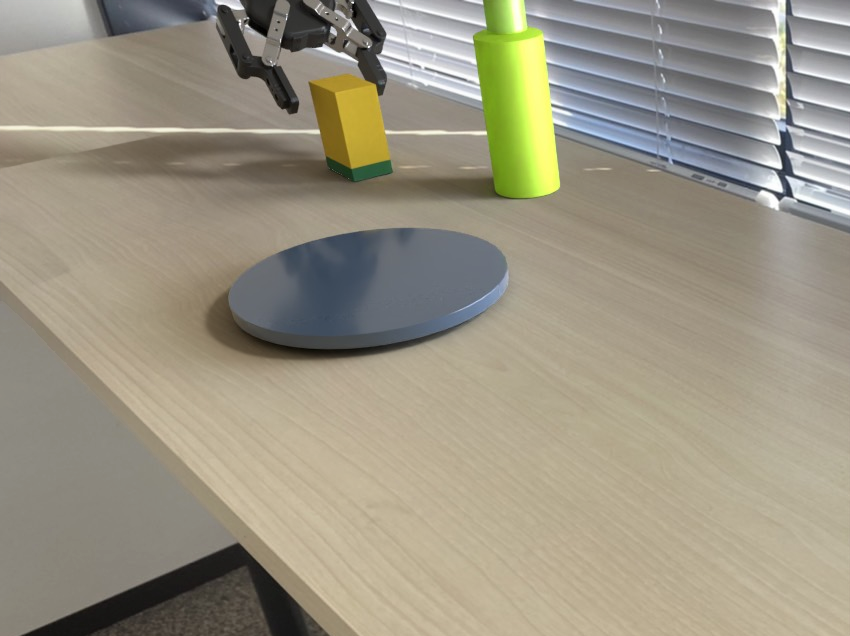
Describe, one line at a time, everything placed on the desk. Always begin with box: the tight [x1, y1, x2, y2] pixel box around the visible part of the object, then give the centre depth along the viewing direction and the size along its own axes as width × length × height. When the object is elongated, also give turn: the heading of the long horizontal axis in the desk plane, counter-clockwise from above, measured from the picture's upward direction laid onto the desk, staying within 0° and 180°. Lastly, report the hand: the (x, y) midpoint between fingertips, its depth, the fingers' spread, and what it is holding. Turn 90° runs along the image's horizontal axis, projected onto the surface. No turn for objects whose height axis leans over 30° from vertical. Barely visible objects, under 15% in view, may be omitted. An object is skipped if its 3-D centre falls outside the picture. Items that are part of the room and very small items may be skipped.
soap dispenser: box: [472, 0, 561, 199], centre depth 99 cm, size 6×7×20 cm
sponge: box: [308, 73, 394, 183], centre depth 108 cm, size 4×6×8 cm
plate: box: [227, 227, 510, 350], centre depth 86 cm, size 20×20×2 cm
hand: (338, 99), depth 108 cm, fingers open, 8 cm apart
